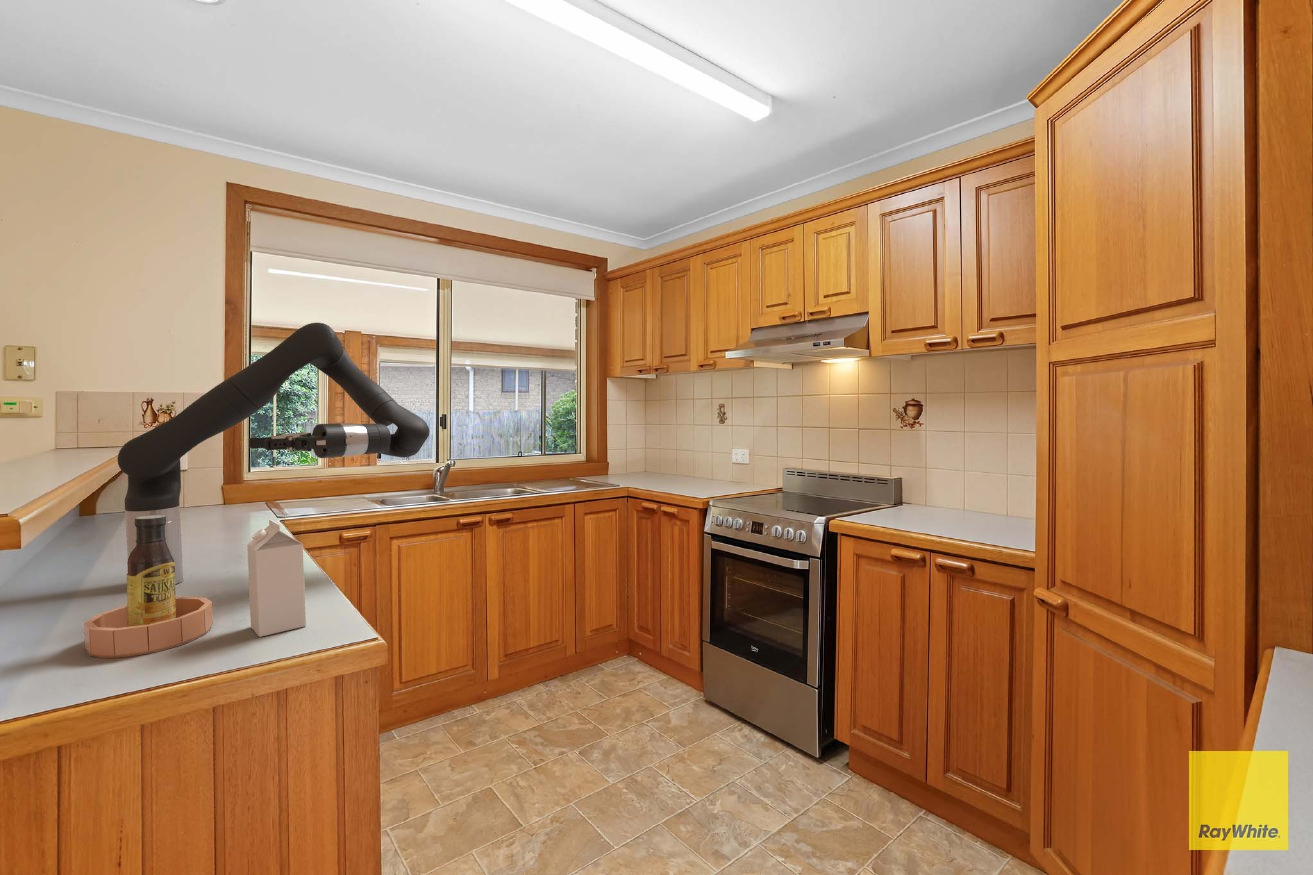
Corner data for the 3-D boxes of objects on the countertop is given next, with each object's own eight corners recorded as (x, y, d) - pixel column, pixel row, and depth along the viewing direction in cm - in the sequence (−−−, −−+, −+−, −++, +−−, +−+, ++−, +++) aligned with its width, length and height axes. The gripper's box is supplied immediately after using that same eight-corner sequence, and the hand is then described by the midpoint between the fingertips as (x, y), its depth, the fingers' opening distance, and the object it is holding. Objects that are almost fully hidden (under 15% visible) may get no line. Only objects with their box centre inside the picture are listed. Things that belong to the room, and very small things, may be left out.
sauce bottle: (148, 641, 96) (142, 521, 95) (118, 638, 97) (111, 520, 96) (187, 626, 103) (181, 514, 102) (158, 624, 104) (152, 512, 103)
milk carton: (296, 617, 110) (292, 516, 109) (306, 627, 105) (302, 521, 104) (250, 627, 105) (245, 521, 104) (259, 638, 100) (254, 527, 99)
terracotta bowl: (78, 641, 99) (76, 615, 98) (195, 614, 111) (194, 591, 111) (99, 667, 89) (97, 637, 89) (224, 634, 102) (223, 608, 101)
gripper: (325, 422, 135) (243, 424, 122) (355, 423, 126) (270, 425, 113) (326, 455, 135) (244, 460, 122) (356, 458, 127) (271, 464, 114)
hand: (257, 443), depth 118 cm, fingers open, 8 cm apart
